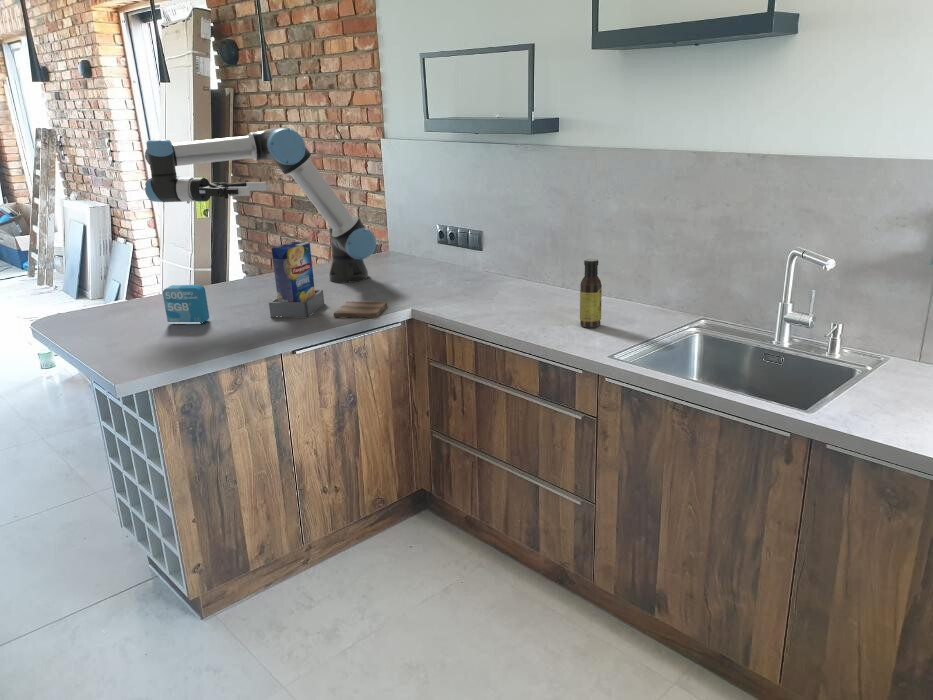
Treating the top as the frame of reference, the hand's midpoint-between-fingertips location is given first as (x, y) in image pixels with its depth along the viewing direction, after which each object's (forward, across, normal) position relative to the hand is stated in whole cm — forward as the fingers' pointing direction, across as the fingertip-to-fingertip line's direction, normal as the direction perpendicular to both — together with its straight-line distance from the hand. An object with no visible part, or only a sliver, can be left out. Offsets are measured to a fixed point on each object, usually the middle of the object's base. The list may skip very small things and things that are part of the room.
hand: (257, 188), depth 226 cm
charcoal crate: (+9, 0, -40) cm, 41 cm away
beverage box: (+9, 0, -40) cm, 41 cm away
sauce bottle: (+105, +15, -40) cm, 113 cm away
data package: (-22, +15, -41) cm, 49 cm away
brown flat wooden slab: (+31, +1, -40) cm, 51 cm away
